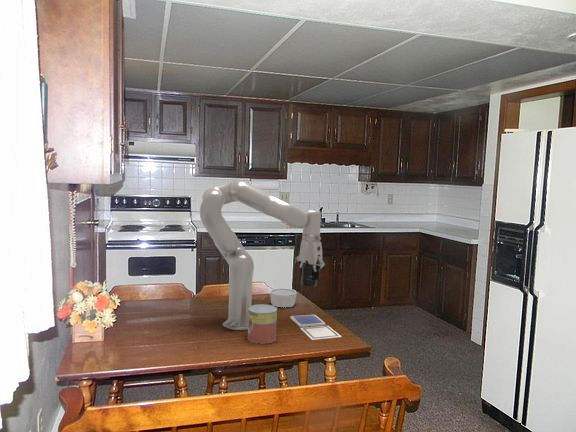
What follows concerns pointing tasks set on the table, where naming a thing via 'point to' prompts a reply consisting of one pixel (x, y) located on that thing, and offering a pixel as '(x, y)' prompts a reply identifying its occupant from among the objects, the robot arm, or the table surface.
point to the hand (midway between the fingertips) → (309, 277)
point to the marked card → (320, 332)
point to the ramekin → (283, 297)
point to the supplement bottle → (308, 275)
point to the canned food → (262, 323)
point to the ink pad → (307, 320)
